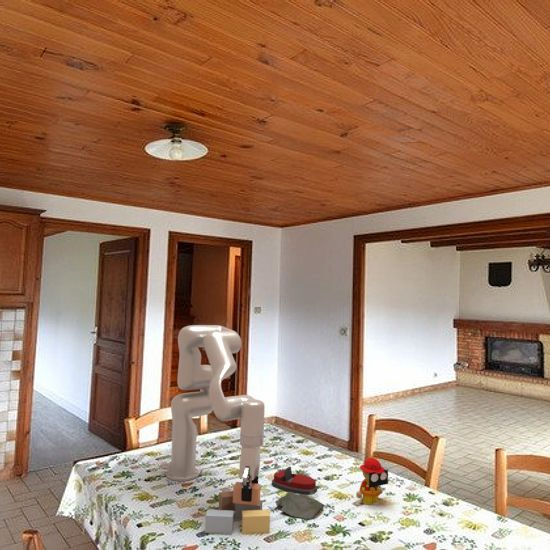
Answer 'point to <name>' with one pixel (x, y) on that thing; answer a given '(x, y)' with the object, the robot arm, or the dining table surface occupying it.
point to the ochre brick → (255, 521)
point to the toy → (372, 480)
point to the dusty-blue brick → (219, 521)
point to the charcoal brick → (245, 509)
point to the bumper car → (293, 481)
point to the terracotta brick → (255, 494)
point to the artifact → (299, 505)
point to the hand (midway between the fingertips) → (249, 494)
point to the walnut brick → (226, 501)
